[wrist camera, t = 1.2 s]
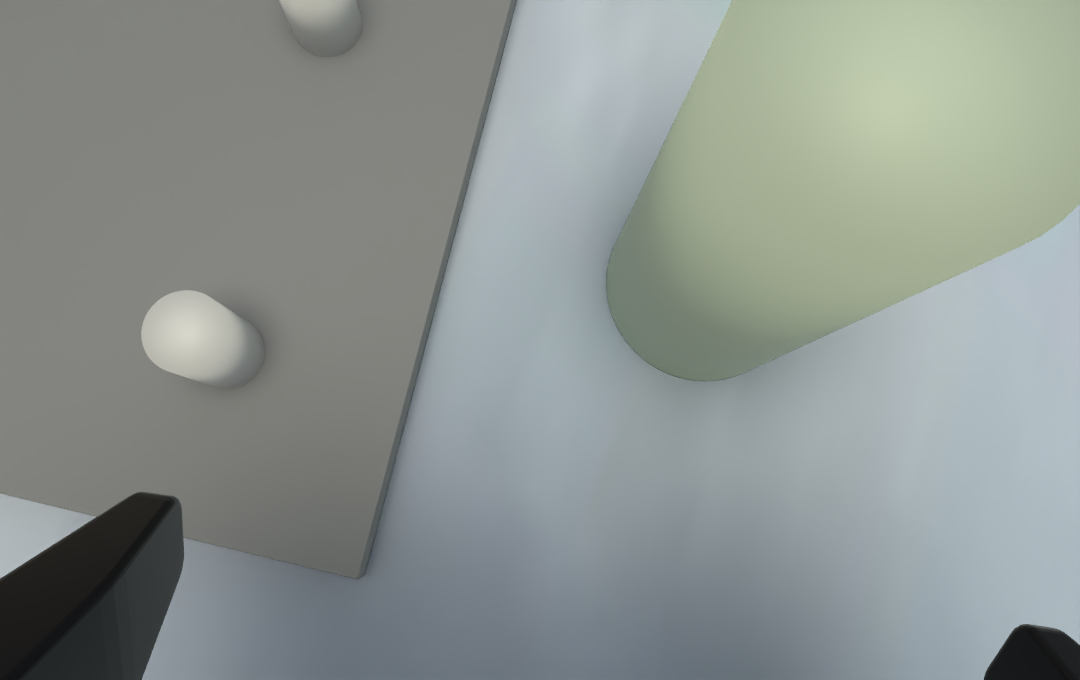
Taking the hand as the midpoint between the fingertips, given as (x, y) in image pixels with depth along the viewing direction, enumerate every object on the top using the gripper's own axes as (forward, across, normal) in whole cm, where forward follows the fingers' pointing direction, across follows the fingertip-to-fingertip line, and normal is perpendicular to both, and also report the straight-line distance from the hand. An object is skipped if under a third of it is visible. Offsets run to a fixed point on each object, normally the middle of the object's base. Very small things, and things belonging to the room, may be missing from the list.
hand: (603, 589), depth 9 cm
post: (+14, -4, +3) cm, 15 cm away
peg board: (+16, +12, +3) cm, 20 cm away
